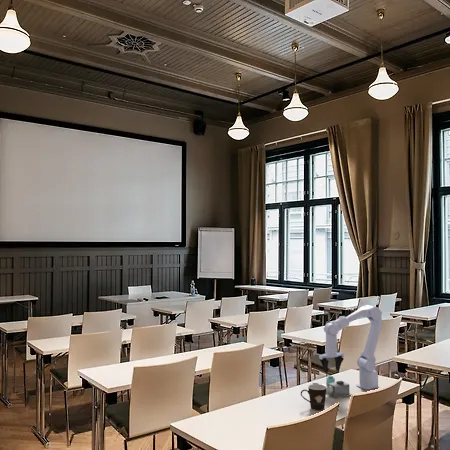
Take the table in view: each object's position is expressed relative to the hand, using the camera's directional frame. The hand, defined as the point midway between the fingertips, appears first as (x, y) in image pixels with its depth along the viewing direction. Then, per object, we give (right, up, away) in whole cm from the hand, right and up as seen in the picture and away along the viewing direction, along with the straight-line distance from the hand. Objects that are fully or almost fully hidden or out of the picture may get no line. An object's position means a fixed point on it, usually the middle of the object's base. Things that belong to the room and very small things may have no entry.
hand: (331, 371), depth 256 cm
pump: (-1, -9, -1) cm, 9 cm away
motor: (+1, -10, -4) cm, 11 cm away
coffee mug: (-14, -10, -26) cm, 31 cm away
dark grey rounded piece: (-7, -10, +7) cm, 14 cm away
